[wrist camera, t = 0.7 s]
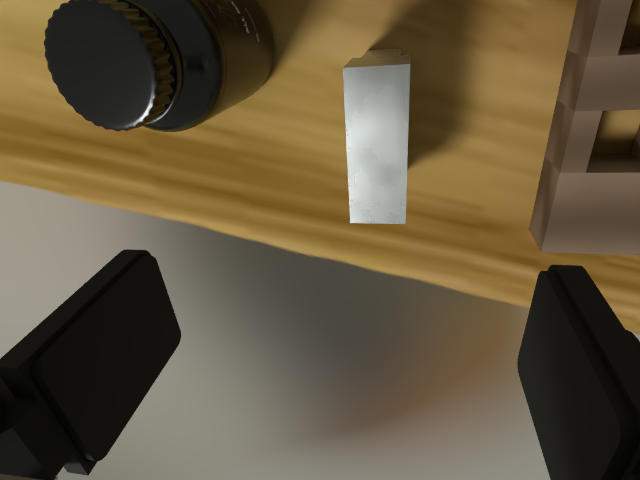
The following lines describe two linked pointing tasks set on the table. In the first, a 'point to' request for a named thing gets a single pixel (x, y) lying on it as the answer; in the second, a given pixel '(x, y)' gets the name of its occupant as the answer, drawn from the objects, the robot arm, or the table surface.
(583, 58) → the rail
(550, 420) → the robot arm
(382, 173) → the grey boxy piece
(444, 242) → the table surface
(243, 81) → the supplement bottle
